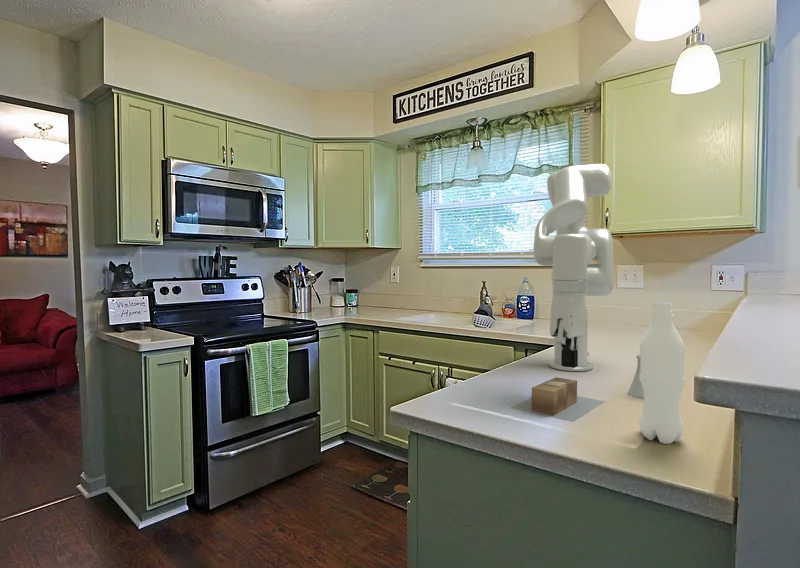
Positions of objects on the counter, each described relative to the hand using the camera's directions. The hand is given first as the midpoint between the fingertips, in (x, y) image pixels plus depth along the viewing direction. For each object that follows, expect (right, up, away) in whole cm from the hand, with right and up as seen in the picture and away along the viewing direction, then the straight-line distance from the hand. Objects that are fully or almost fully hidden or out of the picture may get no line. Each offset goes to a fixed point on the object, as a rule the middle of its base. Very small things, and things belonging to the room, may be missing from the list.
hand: (569, 366), depth 108 cm
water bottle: (+8, -9, -23) cm, 26 cm away
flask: (+19, -8, +3) cm, 21 cm away
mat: (-4, -8, -4) cm, 10 cm away
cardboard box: (-1, -5, -1) cm, 5 cm away
